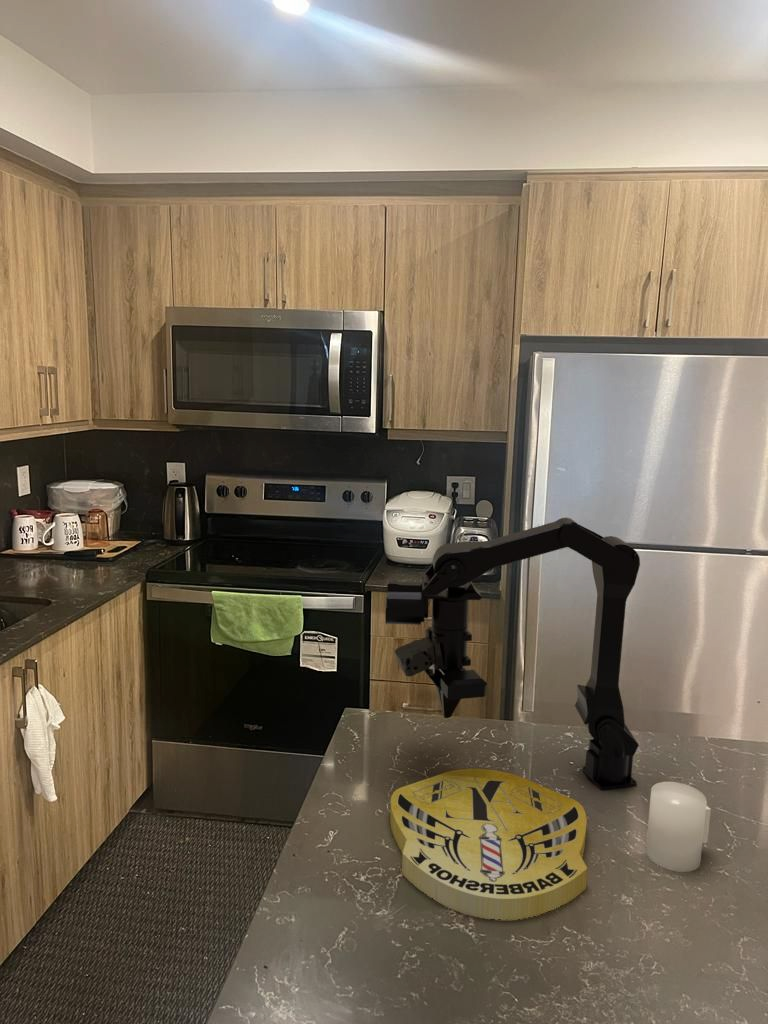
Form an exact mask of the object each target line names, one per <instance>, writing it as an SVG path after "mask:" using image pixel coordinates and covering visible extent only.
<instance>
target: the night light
mask: <svg viewBox="0 0 768 1024" xmlns="http://www.w3.org/2000/svg"><path fill="white" fill-rule="evenodd" d="M707 801H708V800H707V797H706V795H704V794H703V793H702V792H701V791H700V790H698V789H697V788H695V787H694V786H690V785H689V784H685V783H682V782H677V781H676V782H675V781H662V782H657V783H655V784H653V786H652V787H651V789H650V799H649V809H648V810H649V811H648V822H647V832H646V845H645V853H646V855H647V857H648V856H649V857H648V858H649V860H650V861H652V862H653V863H654V862H655V863H654V864H656V865H657V866H659V867H661V868H663V869H665V870H668V871H672V872H677V873H690V872H694V871H696V870H697V869H698V868H699V867H700V865H701V860H702V852H703V851H702V850H703V844H705V843H708V837H709V830H710V821H711V812H712V808H710V807H709V806H708V803H707Z"/></svg>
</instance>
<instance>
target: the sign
mask: <svg viewBox="0 0 768 1024" xmlns="http://www.w3.org/2000/svg"><path fill="white" fill-rule="evenodd" d="M389 810H390V813H389V814H390V815H389V820H390V824H389V825H390V828H391V829H390V830H391V832H392V835H393V837H394V840H395V842H396V844H397V846H398V848H399V850H400V851H401V853H402V861H401V862H402V864H401V865H402V866H401V868H402V869H401V873H402V875H403V876H404V877H405V878H406V879H407V881H409V882H410V883H411V884H412V885H414V886H415V887H416V888H417V889H418V890H419V891H421V892H422V893H423V892H424V895H426V894H427V895H426V896H427V897H429V898H431V899H432V898H433V901H435V902H437V903H439V904H440V905H443V906H445V907H446V908H449V909H451V910H453V911H456V912H458V913H461V914H464V915H467V916H471V917H474V918H478V917H479V919H483V918H484V920H490V919H495V920H494V921H499V920H498V919H501V920H500V921H519V920H518V919H520V920H524V919H523V918H526V919H529V918H528V917H531V918H534V917H533V916H536V917H539V916H541V915H540V914H543V913H545V912H548V911H551V910H553V911H555V910H557V909H559V908H561V907H562V906H561V905H563V906H565V905H566V904H568V903H570V902H571V901H573V900H574V899H575V898H576V897H578V896H579V895H581V894H583V893H582V892H584V891H585V890H586V889H587V882H588V881H587V878H588V867H587V865H586V863H585V861H584V859H583V857H584V854H585V853H584V852H585V846H586V837H587V835H586V834H587V833H586V832H587V824H588V822H587V813H586V811H585V809H584V807H583V805H582V804H581V803H579V802H578V801H577V800H575V799H573V798H571V797H569V796H566V795H564V794H561V793H559V792H557V791H555V790H552V789H550V788H547V787H546V786H542V784H541V785H540V784H538V783H536V782H534V781H531V780H529V779H527V778H524V777H522V776H520V775H519V776H518V775H517V774H512V773H511V772H510V773H509V772H505V771H502V770H501V771H500V770H495V769H488V768H487V769H485V768H463V769H462V768H461V769H455V770H454V769H453V770H450V771H446V772H445V771H444V772H442V773H440V774H437V775H435V776H434V775H433V776H430V777H429V778H425V779H422V780H419V781H417V782H414V783H410V784H407V785H404V786H401V787H399V788H397V789H395V791H393V793H392V795H391V797H390V809H389ZM583 853H584V854H583ZM569 901H570V902H569ZM564 904H565V905H564ZM560 906H561V907H560ZM558 907H559V908H558ZM556 908H557V909H556ZM554 909H555V910H554ZM551 912H552V911H551ZM548 913H549V912H548ZM545 914H546V913H545ZM538 915H539V916H538ZM543 915H544V914H543ZM506 919H507V920H506Z"/></svg>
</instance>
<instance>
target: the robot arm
mask: <svg viewBox="0 0 768 1024" xmlns="http://www.w3.org/2000/svg"><path fill="white" fill-rule="evenodd" d="M565 548H566V549H567V548H569V549H570V550H572V551H574V552H575V553H578V554H579V555H581V556H583V557H584V558H586V559H587V560H589V561H590V562H591V566H592V567H591V568H592V574H593V579H594V585H595V588H596V594H597V596H596V608H595V619H594V629H593V632H594V633H593V643H592V644H593V645H592V653H591V654H592V655H591V666H590V667H591V668H590V676H589V679H588V680H587V682H586V684H585V685H582V684H577V686H576V691H577V699H576V702H575V704H574V707H575V709H576V711H577V713H578V715H579V716H580V719H581V721H582V722H583V724H584V725H585V727H586V729H587V732H588V733H589V736H590V737H592V739H589V744H588V745H589V746H588V749H587V750H586V753H585V754H586V755H585V764H584V765H585V766H582V768H581V769H582V772H584V774H585V775H586V776H587V777H588V778H589V779H590V780H591V781H592V782H593V783H594V784H595V785H596V786H597V787H598V788H599V789H601V790H603V791H604V790H610V789H611V790H612V789H618V788H620V789H621V788H627V787H635V786H637V785H638V783H637V782H638V781H636V779H634V778H633V777H632V774H633V761H634V755H635V754H636V753H637V750H638V747H639V743H638V741H637V739H636V738H635V736H634V735H633V734H632V732H631V731H630V729H629V727H628V726H627V725H626V722H625V721H626V720H625V710H624V704H623V700H622V695H621V691H620V686H619V683H620V673H621V661H622V652H623V651H622V650H623V642H624V641H623V639H624V628H625V616H626V603H627V601H628V597H629V595H630V594H631V592H632V590H633V588H634V586H635V584H636V581H637V578H638V575H639V574H638V573H639V570H640V567H641V561H640V560H641V559H640V554H639V553H638V552H637V551H636V550H635V548H634V547H632V546H631V545H629V543H626V542H625V541H624V540H623V539H621V538H619V537H617V536H613V535H610V536H602V535H600V534H598V533H597V532H595V531H593V530H591V529H589V528H587V527H585V526H583V525H581V524H579V523H577V522H576V521H575V520H573V519H572V518H570V517H561V518H559V519H557V520H556V521H553V522H548V523H546V524H541V525H538V526H535V527H531V528H527V529H525V530H520V531H517V532H513V533H511V534H507V535H503V536H500V537H497V538H494V539H493V538H492V539H488V540H483V541H482V540H481V541H460V542H459V541H458V542H450V543H445V544H442V545H440V546H439V547H438V548H436V550H435V552H434V554H433V556H432V557H433V558H432V564H430V567H429V568H428V569H427V570H426V571H425V573H423V575H422V576H421V577H420V581H400V580H390V579H389V580H387V583H386V584H387V585H386V586H387V588H386V590H387V593H386V597H385V614H384V615H385V616H384V619H385V621H384V622H385V625H410V626H411V625H413V626H414V625H415V626H416V625H420V626H421V624H422V623H424V622H425V619H428V617H429V600H432V601H431V604H432V605H431V626H428V627H427V629H426V630H425V637H423V638H420V639H416V640H413V641H411V642H408V643H406V644H404V645H402V646H399V647H397V648H396V649H395V650H394V654H395V656H396V660H397V662H398V664H399V667H400V670H402V673H403V674H404V675H405V676H406V677H412V676H415V675H417V674H420V673H422V672H425V674H426V675H427V676H428V678H429V679H430V680H431V682H432V683H433V685H434V686H435V688H436V692H437V695H438V696H437V697H438V701H439V704H440V709H441V713H442V716H443V718H444V719H450V718H452V716H453V714H454V712H455V711H456V709H457V707H458V705H459V703H460V701H461V700H464V699H465V700H466V699H474V698H484V697H486V696H487V692H488V691H487V690H488V683H487V682H486V680H484V678H483V677H482V676H481V675H480V674H479V673H478V672H477V671H476V670H475V669H468V668H467V666H468V667H469V666H471V665H472V659H471V658H470V657H469V655H468V642H470V641H472V640H473V637H472V636H473V634H472V633H471V632H470V631H469V630H468V629H469V628H468V627H469V606H470V605H469V603H470V601H481V599H482V595H481V592H480V591H481V590H479V589H477V587H476V586H475V585H474V584H473V581H475V580H478V579H479V578H480V577H482V576H483V575H485V574H486V573H487V572H489V571H491V570H493V569H495V568H498V567H501V566H505V565H508V564H513V563H515V562H519V561H522V560H526V559H529V558H533V557H537V556H541V555H544V554H548V553H551V552H555V551H558V550H562V549H565Z"/></svg>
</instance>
